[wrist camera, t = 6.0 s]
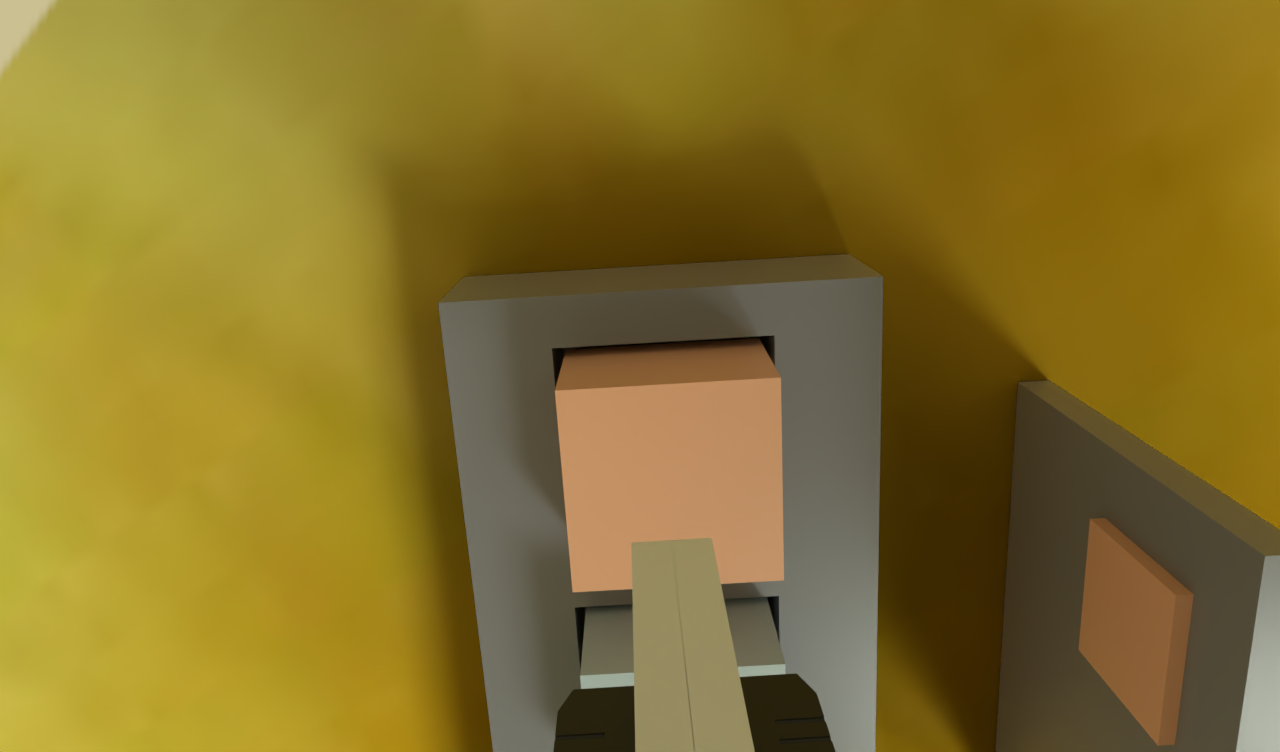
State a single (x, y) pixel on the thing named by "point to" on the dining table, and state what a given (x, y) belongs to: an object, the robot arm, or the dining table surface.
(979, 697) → the dining table surface
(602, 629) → the slate key
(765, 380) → the terracotta key
